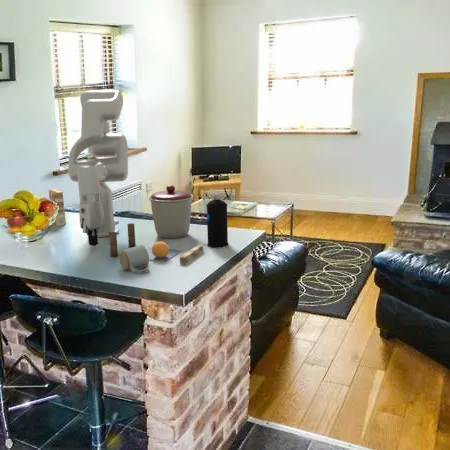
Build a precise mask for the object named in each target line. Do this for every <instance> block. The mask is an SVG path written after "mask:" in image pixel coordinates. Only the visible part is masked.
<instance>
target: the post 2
mask: <svg viewBox="0 0 450 450" xmlns="http://www.w3.org/2000/svg"><path fill="white" fill-rule="evenodd" d="M135 229H136V228H135V223H133V222H131V223H130V222H129V223H127V237H128V238H127V239H128V248H132V247H135V246H137V245H136V244H137V243H136V233H135Z"/></svg>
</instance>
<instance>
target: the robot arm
mask: <svg viewBox="0 0 450 450" xmlns="http://www.w3.org/2000/svg"><path fill="white" fill-rule="evenodd" d="M79 101H80V106H81V128H80V129H81V130H80V131H81V135H80V137H79V138H78V139H77V140H76V141H75V143H74V144H73V145H72V147H71V148H70V151H69V155H68V170H67V171H68V177H69V179H70V180H71V181H72V182H74V183H77V185H78V196H79V197H78V199H79V211H78V212H79V213H78V215H79V226H80V229H82V234H86V235H87V239H88V246H91V247H96V246H98V245H99V238H105V237H109V232H116V235H118V234H119V229H118V228H117V227H116V226H117V225H119V223H120V221H119V220H117V219H115V217H114V214H115V213H114V202H113V201H114V200H113V192H112V189H111V188H110V187H109V185H108V184H107V183H109V182H124V181H126V180H127V178H128V175H129V163H128V162H129V159H128V157H129V153H128V152H129V149H128V147H129V146H128V139H127V137H126V136H125V135H124V134H123V133H110V123H109V121H110V122H111V121H114V122H115V121H117V120H119V118H120V116H121V112H122V109H123V106H124V97H123V94H122V92H121V91H120V90H116V89H105V90H104V89H101V90H99V89H98V90H97V89H95V90H88V91H87V90H86V91H84V92H82V93H81V94H80V100H79ZM87 149H88V152H89V154H90V156H92V157H96V158H91V159H88V160H87V161H78V159H79V157H80V155H81V154H82V152H84V151H85V150H87ZM112 157H115V158H112Z"/></svg>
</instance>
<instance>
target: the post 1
mask: <svg viewBox="0 0 450 450" xmlns="http://www.w3.org/2000/svg"><path fill="white" fill-rule="evenodd" d="M117 235H118V234H116V232H109V236H108V239H109V251H110V258H119V251H118V239H117V237H118V236H117Z"/></svg>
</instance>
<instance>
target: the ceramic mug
mask: <svg viewBox="0 0 450 450" xmlns="http://www.w3.org/2000/svg"><path fill="white" fill-rule="evenodd" d="M146 249H147V248H146V247H145V246H144V245H143V244H138V245H136V246H135V247H132V248H130V247H128V248H125V249H122V250H121V251H120V252H119V253H118V258H119V259H118V260H119V261H118V262H119V264H120V266H121V268H122V269H123V270H124V271H132V272H134V273H135V274H138V275H139V274H145V273H147V272H148V271H149V264H150V260H149V255H148V252H147V250H146ZM142 268H143V269H142Z"/></svg>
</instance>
